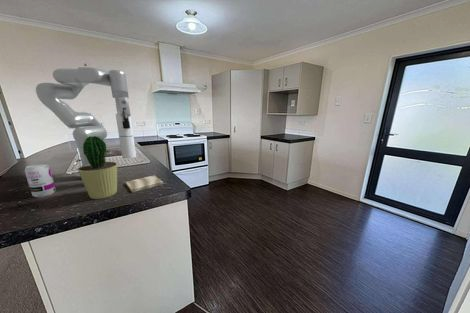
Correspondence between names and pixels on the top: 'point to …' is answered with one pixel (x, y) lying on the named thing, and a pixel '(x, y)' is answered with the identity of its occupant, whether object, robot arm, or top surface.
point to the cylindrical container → (126, 138)
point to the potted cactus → (98, 170)
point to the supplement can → (40, 180)
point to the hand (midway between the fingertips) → (125, 127)
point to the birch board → (143, 183)
